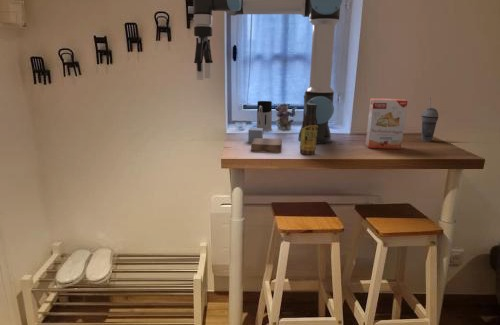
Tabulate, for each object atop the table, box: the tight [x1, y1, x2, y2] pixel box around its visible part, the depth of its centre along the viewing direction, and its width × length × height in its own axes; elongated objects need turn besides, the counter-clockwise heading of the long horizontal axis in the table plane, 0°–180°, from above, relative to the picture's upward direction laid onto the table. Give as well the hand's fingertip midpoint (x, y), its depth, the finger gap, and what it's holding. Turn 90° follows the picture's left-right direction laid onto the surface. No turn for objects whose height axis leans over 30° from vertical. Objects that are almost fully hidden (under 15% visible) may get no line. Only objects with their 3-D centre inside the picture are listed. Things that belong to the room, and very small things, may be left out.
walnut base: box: [250, 137, 283, 153], centre depth 156 cm, size 12×12×3 cm
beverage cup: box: [420, 97, 439, 143], centre depth 172 cm, size 7×7×20 cm
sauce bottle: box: [299, 104, 318, 156], centre depth 146 cm, size 7×6×20 cm
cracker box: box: [365, 98, 408, 150], centre depth 157 cm, size 14×6×21 cm, turn 86°
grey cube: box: [247, 127, 264, 144], centre depth 167 cm, size 6×6×6 cm
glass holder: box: [256, 100, 273, 133], centre depth 192 cm, size 9×14×15 cm, turn 162°
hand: (204, 79), depth 158 cm, fingers open, 13 cm apart
